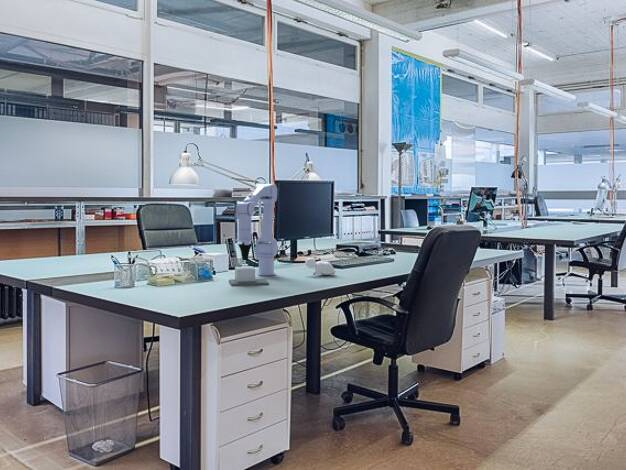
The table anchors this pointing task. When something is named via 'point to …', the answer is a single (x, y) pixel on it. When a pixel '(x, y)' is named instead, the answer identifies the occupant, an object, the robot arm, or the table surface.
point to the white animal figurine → (320, 267)
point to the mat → (257, 282)
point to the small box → (245, 274)
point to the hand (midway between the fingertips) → (245, 259)
